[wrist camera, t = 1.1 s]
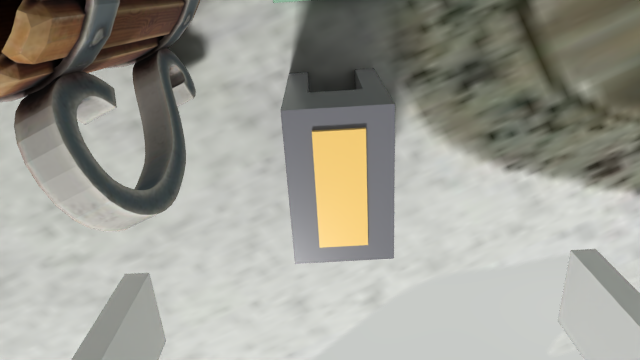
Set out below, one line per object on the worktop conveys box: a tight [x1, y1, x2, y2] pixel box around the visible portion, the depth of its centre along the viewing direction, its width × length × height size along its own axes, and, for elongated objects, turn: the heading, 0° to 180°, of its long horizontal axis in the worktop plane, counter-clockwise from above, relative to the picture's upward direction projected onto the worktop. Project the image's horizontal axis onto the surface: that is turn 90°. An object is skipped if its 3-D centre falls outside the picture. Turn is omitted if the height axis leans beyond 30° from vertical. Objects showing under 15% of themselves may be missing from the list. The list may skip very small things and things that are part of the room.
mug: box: [0, 0, 200, 231], centre depth 19 cm, size 16×11×15 cm
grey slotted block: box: [281, 68, 395, 264], centre depth 26 cm, size 5×8×8 cm, turn 3°
